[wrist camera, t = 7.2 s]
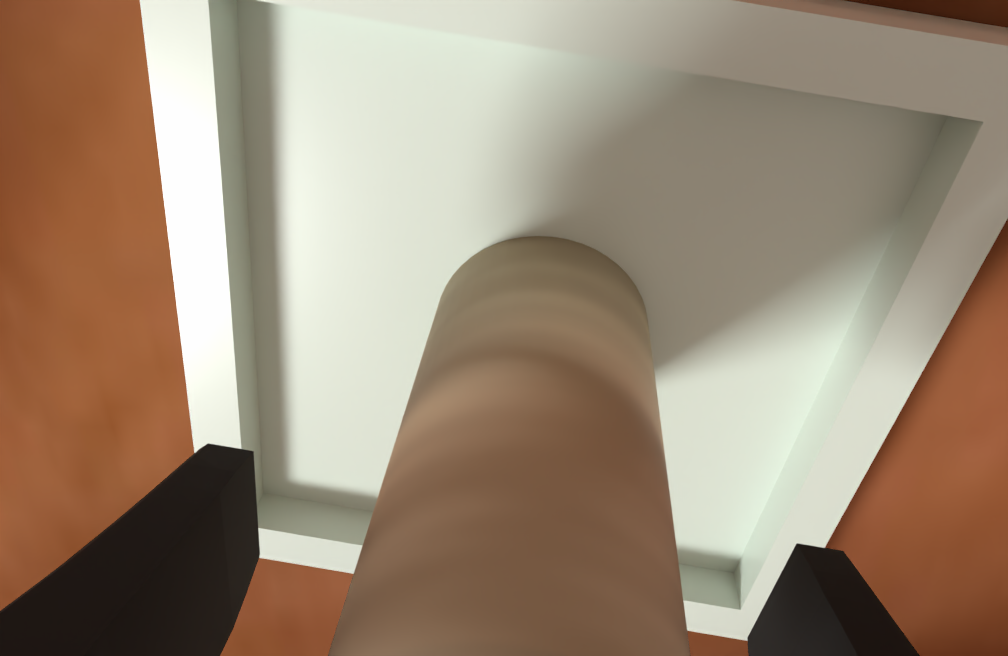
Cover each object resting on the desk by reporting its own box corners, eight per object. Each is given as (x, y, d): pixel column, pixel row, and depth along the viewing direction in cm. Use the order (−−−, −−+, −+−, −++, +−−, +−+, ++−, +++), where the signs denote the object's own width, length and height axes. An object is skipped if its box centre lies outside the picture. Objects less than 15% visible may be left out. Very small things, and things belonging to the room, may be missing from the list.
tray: (236, 491, 19) (205, 548, 17) (188, -109, 12) (127, -101, 10) (756, 579, 19) (770, 644, 17) (1029, 31, 12) (1095, 60, 10)
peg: (433, 400, 16) (317, 828, 9) (440, 223, 13) (292, 615, 7) (628, 424, 15) (660, 877, 9) (667, 249, 13) (750, 675, 7)
